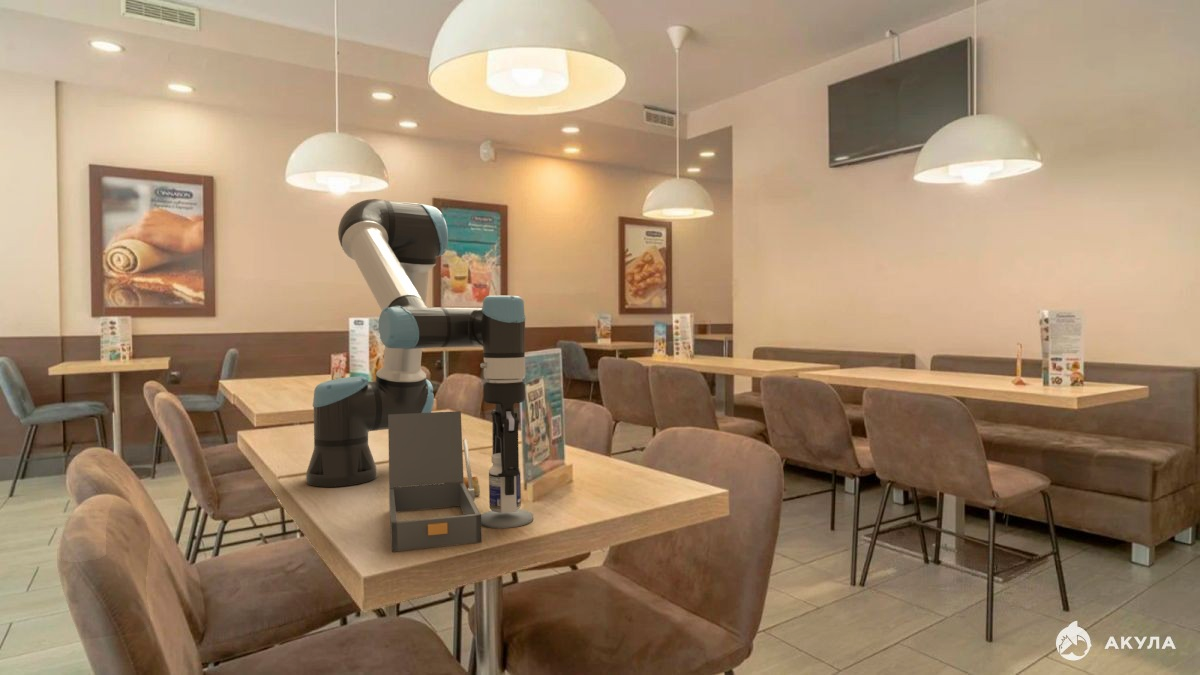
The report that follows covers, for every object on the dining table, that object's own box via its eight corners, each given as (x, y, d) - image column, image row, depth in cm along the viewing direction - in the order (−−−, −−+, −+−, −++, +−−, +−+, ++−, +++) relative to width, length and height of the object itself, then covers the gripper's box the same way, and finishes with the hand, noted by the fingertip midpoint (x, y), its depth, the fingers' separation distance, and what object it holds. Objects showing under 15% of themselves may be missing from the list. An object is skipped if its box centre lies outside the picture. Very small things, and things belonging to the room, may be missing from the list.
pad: (474, 515, 124) (474, 511, 124) (526, 509, 127) (526, 506, 127) (482, 530, 114) (482, 527, 114) (538, 524, 118) (538, 521, 118)
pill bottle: (506, 502, 125) (505, 450, 125) (527, 508, 121) (527, 453, 121) (482, 509, 120) (482, 455, 120) (504, 515, 117) (503, 459, 117)
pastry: (435, 501, 134) (435, 482, 134) (433, 493, 141) (433, 476, 141) (482, 497, 137) (481, 479, 137) (477, 490, 144) (477, 472, 144)
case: (389, 505, 131) (388, 414, 130) (466, 499, 135) (465, 410, 135) (392, 553, 103) (390, 437, 103) (488, 542, 108) (487, 431, 108)
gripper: (476, 377, 128) (477, 496, 128) (492, 385, 110) (493, 524, 111) (514, 376, 130) (515, 493, 131) (536, 384, 113) (537, 519, 113)
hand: (505, 507), depth 121 cm, fingers closed on pill bottle, 6 cm apart
